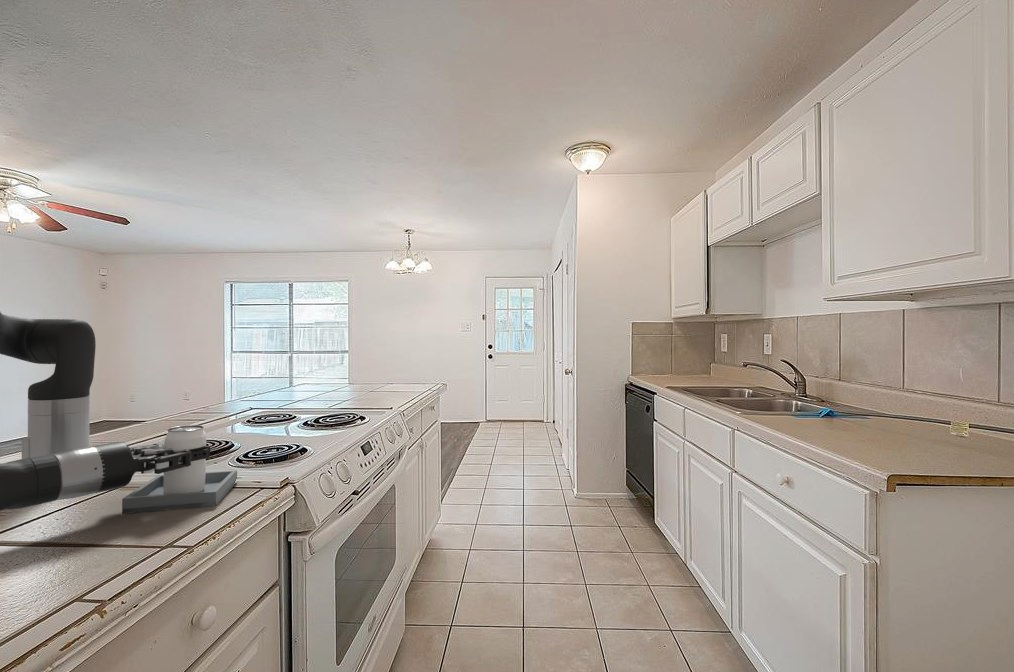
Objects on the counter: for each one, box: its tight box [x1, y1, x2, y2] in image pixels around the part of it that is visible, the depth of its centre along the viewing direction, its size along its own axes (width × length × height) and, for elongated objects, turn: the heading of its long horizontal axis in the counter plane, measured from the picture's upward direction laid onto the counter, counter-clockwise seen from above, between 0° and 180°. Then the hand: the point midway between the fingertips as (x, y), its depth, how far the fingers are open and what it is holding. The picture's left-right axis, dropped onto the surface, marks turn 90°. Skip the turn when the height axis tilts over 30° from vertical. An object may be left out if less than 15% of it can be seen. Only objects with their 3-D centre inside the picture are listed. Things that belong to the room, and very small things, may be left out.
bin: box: [121, 469, 238, 514], centre depth 89 cm, size 14×14×2 cm
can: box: [163, 424, 207, 494], centre depth 89 cm, size 6×6×12 cm
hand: (199, 449), depth 91 cm, fingers open, 6 cm apart
